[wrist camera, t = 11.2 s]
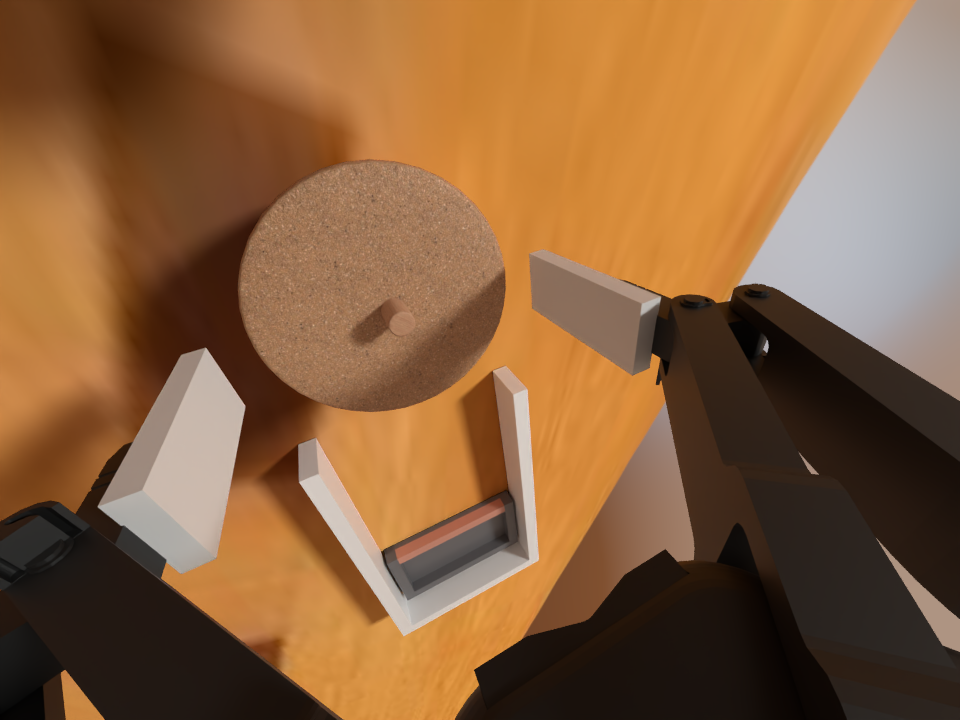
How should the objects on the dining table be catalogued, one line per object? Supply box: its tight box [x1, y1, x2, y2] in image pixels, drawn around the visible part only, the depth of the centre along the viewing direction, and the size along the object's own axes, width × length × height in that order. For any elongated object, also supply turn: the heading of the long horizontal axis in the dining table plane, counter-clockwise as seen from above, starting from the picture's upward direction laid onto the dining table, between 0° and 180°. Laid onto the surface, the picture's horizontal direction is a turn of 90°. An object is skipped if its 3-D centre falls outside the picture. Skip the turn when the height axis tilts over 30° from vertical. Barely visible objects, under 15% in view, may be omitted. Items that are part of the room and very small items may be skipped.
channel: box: [298, 366, 539, 636], centre depth 33 cm, size 26×16×4 cm, turn 9°
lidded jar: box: [238, 159, 506, 412], centre depth 17 cm, size 11×11×9 cm
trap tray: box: [384, 491, 518, 600], centre depth 38 cm, size 8×13×2 cm, turn 99°
